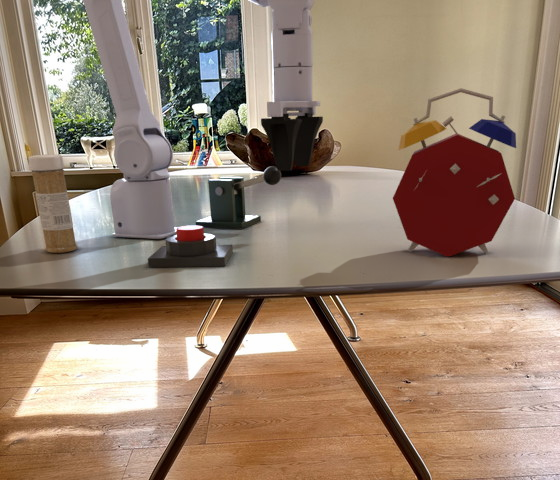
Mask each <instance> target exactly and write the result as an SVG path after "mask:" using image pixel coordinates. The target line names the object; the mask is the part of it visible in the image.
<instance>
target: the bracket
mask: <svg viewBox="0 0 560 480" xmlns="http://www.w3.org/2000/svg"><path fill="white" fill-rule="evenodd" d="M244 179H245V178H244V177H243V176H221V177H219V178H218V179H213V178H211V179H208V180H207V182H208V183H207V184H208V196H209V210H210V216H208V217H205V218H202V219H199V220H195V225H198V226H203V229H204V228H206V229H231V230H244V229H245V228H248V227H250V226H253V225H255V224H258V223H260V222H261V221H262V216H261V215H247V214H246V198H245V187H244V188H240V189H237V191H238V194H235V195H234V180H235V184H236V183H239V182H242V181H245V180H244Z"/></svg>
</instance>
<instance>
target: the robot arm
mask: <svg viewBox="0 0 560 480" xmlns="http://www.w3.org/2000/svg"><path fill="white" fill-rule="evenodd" d="M82 2H83V4H84V5H83V6H84V9H85V12H86V16H87V19H88V22H89V27H90V29H91V33H92V36H93V40H94V43H95V47H96V51H97V54H98V57H99V61H100V64H101V67H102V71H103V75H104V78H105V81H106V85H107V89H108V92H109V96H110V98H111V102H112V105H113V109H114V112H115V121H114V124H113V127H112V135H113V138H114V148H113V149H114V150H113V159H114V162H115V165H116V166H117V168H118V169H119V171H120V172H121V173H122V174H123V178H119V179H117V180H115V181H114V182H113V183H112V185H111V188H110V194H109V199H110V205H111V207H110V208H111V215H112V221H113V226H114V227H113V229H114V233H112V234H111V237H113V238H131V239H133V238H134V239H152V240H162V239H166V238H168V237H170V236H174V235H177V234H176V228H177V227H178V226H177V227H176V225H175V215H174V207H173V206H174V205H173V196H172V195H173V194H172V185H171V178H170V177H171V175H170V172H169V171H168V170H169V168H170V166H171V164H172V162H173V158H174V151H173V148H172V144H171V143H170V141H169V140H168V139H167V137H166V136H165V135H164V133H163V130H162V127H161V124H160V122H159V120H158V119H157V117H156V116H155V114H154V113H153V111H152V110H151V107H150V103H149V99H148V95H147V92H146V87H145V85H144V81H143V76H142V73H141V70H140V65H139V62H138V59H137V55H136V50H135V47H134V43H133V40H132V36H131V32H130V29H129V25H128V20H127V18H126V13H125V9H124V5H123V1H122V0H82ZM248 2H250V3H253V4H256V5H258V6H260V7H262V8H266V7H270V9H271V10H272V11H271V25H272V28H271V29H272V30H271V60H272V61H271V64H272V67H271V68H272V101H267V102H266V116H267V117H265V118H263V117H262V118H260V126H261V127H262V129H263V130H264V132H265V135H266V137H267V139H268V141H269V144H270V146H271V152H272V156H273V159H274V163H275V167H276V168H277V171H280V172H289V171H291V172H292V170H293V166H294V164H295V167H310V164H311V162H312V156H313V152H314V146H315V141H316V138H317V135H318V133H319V130H320V128H321V126H322V124H323V121H324V117H323V116H321V115H320V116H317V114H316V113H317V109H316V108H317V107H320V106H321V100H313V31H312V22H313V21H312V12H311V10H312V8H313V5H314V3H315V0H248ZM291 117H295V118H291Z"/></svg>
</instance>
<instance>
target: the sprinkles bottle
mask: <svg viewBox="0 0 560 480" xmlns="http://www.w3.org/2000/svg"><path fill="white" fill-rule="evenodd" d="M27 160H28V166H29V170H30V171H31V172H30V173H31V176H32V180H33V185H34V190H35V198H36V203H37V208H38V214H39V219H40V224H41V229H42V232H43V238H44V243H45V251H46V252H48V253H51V254H62V253H69V252H73V251H75V250H77V249H78V245H77V243H76V242H77V241H76V236H75V231H74V230H75V229H74V221H73V215H72V211H71V205H70V199H69V193H68V189H67V184H66V178H65V164H64V160H63V156H62V155H61V154H57V153H56V154H54V153H50V154H48V153H47V154H36V155H35V154H34V155H30V156H28V157H27Z"/></svg>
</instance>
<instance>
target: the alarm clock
mask: <svg viewBox="0 0 560 480" xmlns="http://www.w3.org/2000/svg"><path fill="white" fill-rule="evenodd" d="M459 93H462V94H465V95H469V96H473V97H476V98H480V99H484V100H487V101H488V116H489V117H491V118H493V119H495V120H493V119H485V118H481V119H480V120H478V121H477V122H475V123H474V124H473V125H471V126H470V127H468V129H469V130H471V131H473V132H476V133H478V134H480V135H483V136H485V137H487V138H490V139H489V140H488V142H487V144H484V143H481V142H479V141H476V140H475V139H472V138H469V137H467V136H465V135H462V134H460V133H458V132H457V130H456V129H455V128H454V126H453V125H452V124H451V123H452V122H453V121H454V118H453V116H451V115H450V116H449V117H448V118H446V120H444V121H443V122H442V123H440V122H439V121H438V120H436V119H434V120H428V121H425V120H427V119H429V118H430V117H431V108H432V103H433V102H436V101H439V100H442V99H445V98H448V97H451V96H454V95H457V94H459ZM493 109H494V96H491V95H487V94H484V93H480V92H476V91H473V90H469V89H466V88H462V87H461V88H457V89H454V90H452V91H449V92H445V93H443V94H440V95H437V96H434V97H431V98H428V99H427V106H426V112H425V115H423V117H421V118H420V119H419V120H418V117H415V118H413V122H414V123H413V124H412V127H410V128H409V129H407V130H406V131H405V132H404V133H403V134H401V136H400V141H399V145H398V149H397V150H398V151H401V150H403V149H406V148H408V147H411V146H413V145H415V144H418V143H420V142H421V146H422V147H421V148H420V149H417V150H414V151H413V152H412V154H411V157H410V158H409V161H408V163H407V166H406V168H405V170H404V172H403V174H402V176H401V179H400V180H399V183H398V185H397V188H396V190H395V191H394V194H393V196H392V200H393V201H392V202H393V203H394V206H395V209H396V211H397V215H398V217H399V220H400V223H401V225H402V228H403V232H404V234H405V236H406V239H407V240H408V241H409V242H411V243H410V245H409V246H408V249H407V250H408V252H409V253H410V252H413V251H414V250H415V249H416V248H417V247H418V246H421V247H424V248H426V249H427V250H430V251H432V252H435V253H437V254H440V255H441V256H444V257H446V258H449V257H451V256H455V255H457V254H459V253H463V252H465V251H468V250H471V249H474V248H477V247H478V248H479V249H480V250H481V251H482V253H483V254H488V252H489V250H488V248H487V245H486V244H487V243H491V242H492V241H493V240H494V238H495V236H496V234H497V232H498V231H499V228H500V226H502V223H503V221H504V219H505V218H506V216H507V214H508V212H509V211H510V209H511V207H512V205H513V203H514V201H515V200H516V197H515V194H514V191H513V188H512V184H511V181H510V178H509V174H508V170H507V168H506V165H505V161H504V157H503V154H502V152H500V151H499V150H497V149H495V148H494V147H491V146H492V144H493V142H494V141H496V142H499V143H502V144H503V145H506V146H509V147H510V148H514V149H517V133H516V132H515V131H513V129H511V128H510V127H509V126H508V125H506V121H504V120H505V119H506V116H505V115H501V116H500V117H499V116H497V115H496V114H494V111H493ZM448 126H450V128H451V129H452V130H453V132H454V134H452V135H449V136H447V137H445V138H443V139H439V140H438V141H436V142H433V143H431V144H429V145H427V144H426V141H425V140H427V139H429V138H431V137H433V136H436V135H438V134H440V133H443V132H444V131H446V130H447V127H448Z"/></svg>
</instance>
